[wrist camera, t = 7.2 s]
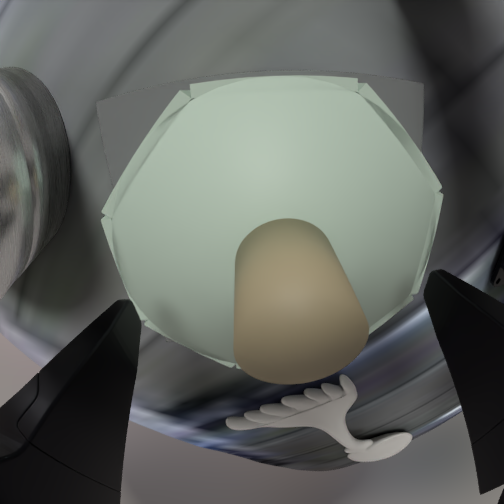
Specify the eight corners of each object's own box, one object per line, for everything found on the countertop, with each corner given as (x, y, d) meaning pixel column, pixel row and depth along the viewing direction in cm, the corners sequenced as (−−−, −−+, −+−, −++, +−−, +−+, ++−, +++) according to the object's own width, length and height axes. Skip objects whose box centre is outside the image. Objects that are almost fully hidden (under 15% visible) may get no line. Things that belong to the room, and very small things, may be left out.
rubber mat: (415, 82, 8) (424, 83, 8) (382, 313, 15) (386, 320, 14) (102, 100, 8) (95, 102, 8) (168, 333, 15) (166, 341, 14)
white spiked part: (337, 338, 16) (351, 386, 13) (413, 431, 30) (419, 449, 27) (221, 389, 19) (220, 431, 16) (359, 454, 33) (363, 472, 30)
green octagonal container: (418, 89, 8) (535, 117, 3) (383, 317, 14) (421, 403, 9) (105, 107, 8) (-8, 142, 3) (171, 338, 14) (153, 434, 9)
